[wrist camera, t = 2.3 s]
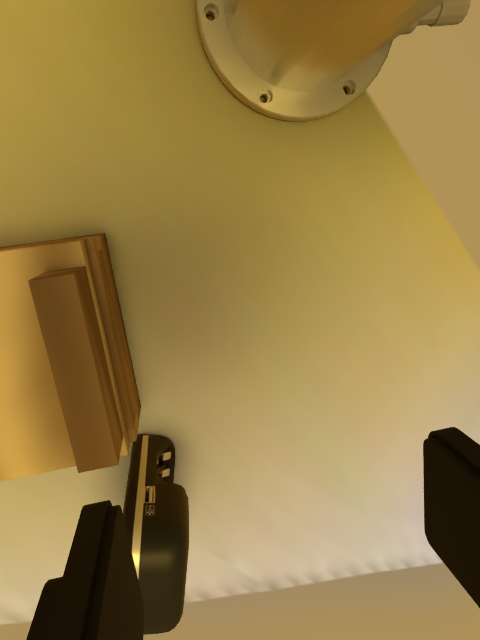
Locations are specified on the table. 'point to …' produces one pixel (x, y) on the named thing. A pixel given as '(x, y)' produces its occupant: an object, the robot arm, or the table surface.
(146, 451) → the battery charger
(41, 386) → the lid
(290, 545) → the table surface
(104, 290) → the brown shallow rectangular box
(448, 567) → the robot arm
